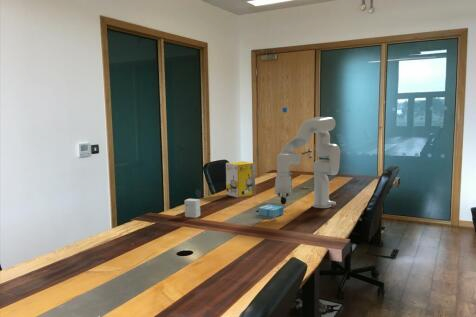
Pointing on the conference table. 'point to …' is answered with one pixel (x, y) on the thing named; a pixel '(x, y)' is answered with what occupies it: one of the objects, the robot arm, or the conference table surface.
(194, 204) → the small box
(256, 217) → the felt pad
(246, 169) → the packaging box
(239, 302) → the conference table surface
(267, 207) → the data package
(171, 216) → the conference table surface
